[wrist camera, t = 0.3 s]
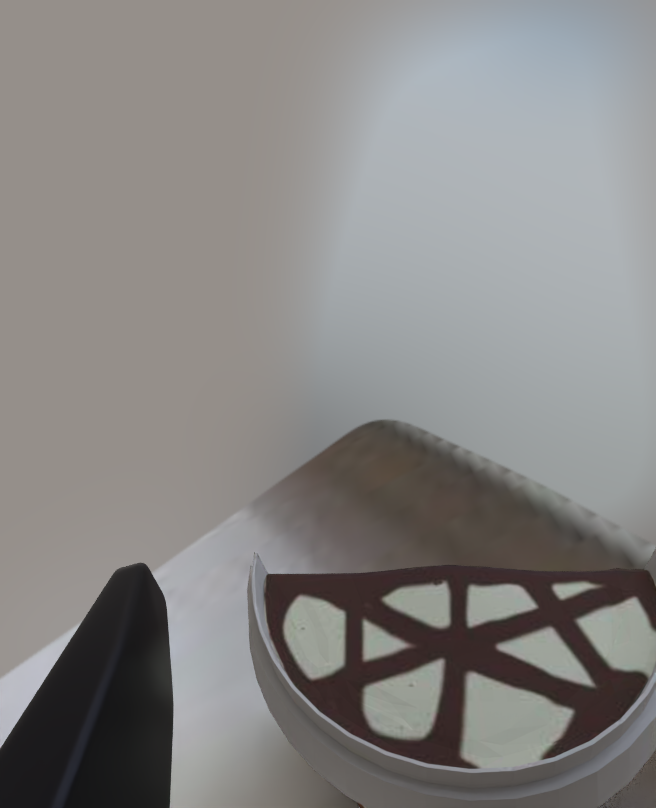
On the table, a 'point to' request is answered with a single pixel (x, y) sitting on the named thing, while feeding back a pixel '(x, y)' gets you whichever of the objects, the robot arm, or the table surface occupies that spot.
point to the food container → (462, 681)
